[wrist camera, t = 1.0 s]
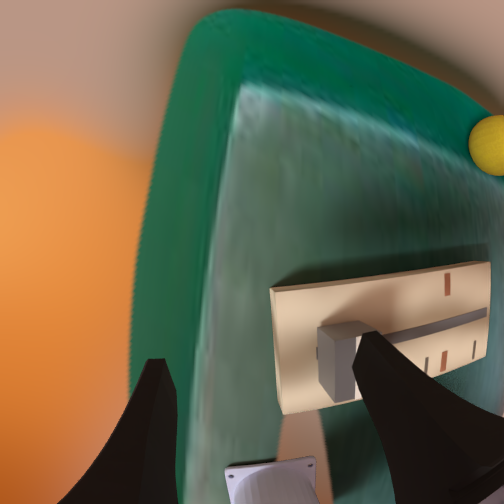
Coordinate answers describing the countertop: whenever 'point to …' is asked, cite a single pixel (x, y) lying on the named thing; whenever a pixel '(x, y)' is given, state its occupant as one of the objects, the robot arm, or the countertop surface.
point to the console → (381, 323)
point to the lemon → (488, 145)
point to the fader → (339, 358)
